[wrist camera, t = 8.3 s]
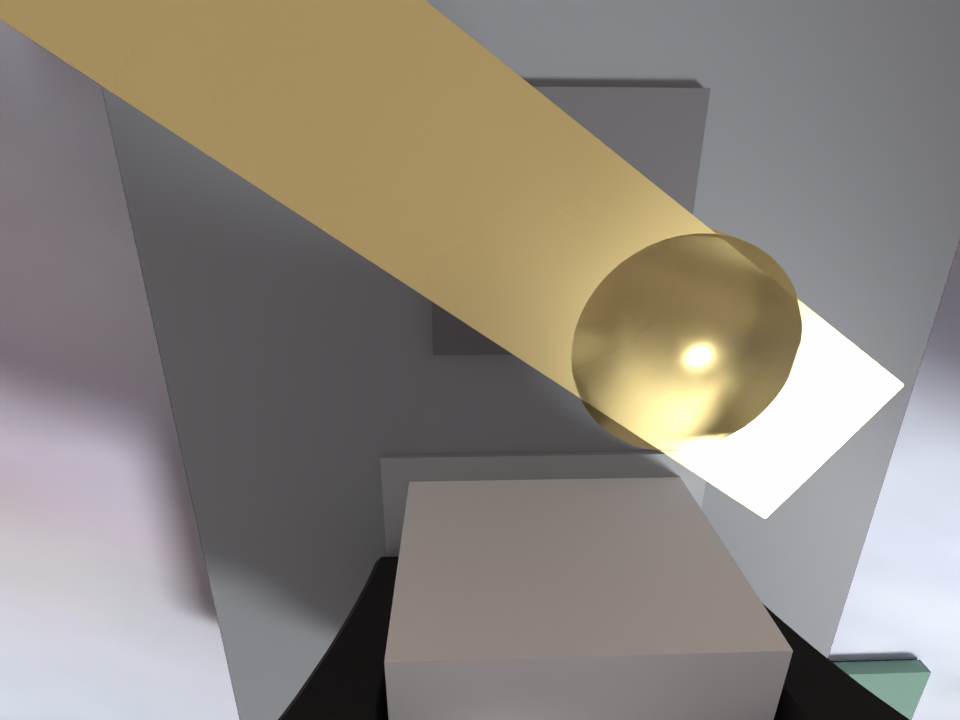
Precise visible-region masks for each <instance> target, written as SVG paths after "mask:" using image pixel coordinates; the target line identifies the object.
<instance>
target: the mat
mask: <svg viewBox="0 0 960 720" xmlns="http://www.w3.org/2000/svg"><path fill="white" fill-rule="evenodd" d="M833 663H834V664H835V665H836V666H838V667H839V668H840V669H842V670H843V671H844V672H845V673H847V674H848V675H849V676H850V677H852V678H853V679H854V680H856V681H857V682H858V683H859V684H861V685H862V686H863V687H865V688H866V689H867V690H869V691H870V692H872V693H873V694H874V695H876V696H877V697H878V698H880V699H881V700H882V701H884V702H885V703H887V704H888V705H890V706H891V707H892V708H894V709H895V710H897V711H898V712H899V713H901V714H902V715H904V716H905V717H907V718H908V719H909V720H911V719H912V717H913V714H914V712H915V710H916V707H917V705H918V702H919V700H920V697H921V695H922V693H923V690H924V688H925V685H926V683H927V680H928V678H929V676H930V673H931V672H930V671H929V669H928V668H927V667H926V666H925V665H924V664H923V663H922V661H921V660H898V661H863V662H833Z"/></svg>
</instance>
